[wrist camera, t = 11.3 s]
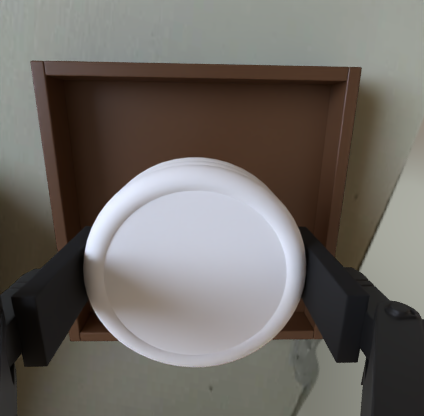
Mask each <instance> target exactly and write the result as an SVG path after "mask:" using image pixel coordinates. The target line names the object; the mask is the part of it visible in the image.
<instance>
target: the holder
mask: <svg viewBox="0 0 424 416" xmlns="http://www.w3.org/2000/svg"><path fill="white" fill-rule="evenodd" d="M30 63H31V70H32V77H33V84H34V91H35V97H36V104H37V111H38V118H39V125H40V132H41V139H42V146H43V153H44V160H45V167H46V174H47V181H48V188H49V195H50V202H51V209H52V216H53V223H54V230H55V237H56V244H57V251H58V252H59V251H60V250H61V249H62V248H63V247H64V246H65V245H66V244H67V243H68V242H69V241H70V240H72V239H73V238H74V237H75V236H76V235H77V234H78V233H79V232H80V231H81V230H82V229H83V228H84V227H85V226H93V224H94V222H95V220H96V218H97V216H98V215H99V213H100V212H101V210H102V209H103V208H104V206H105V205H106V204H107V203H108V201H109V200H110V199H111V198H112V197H113V196H114V195H115V194H116V193H117V192H119V191H120V190H121V189H122V188H123V187H124V186H125V185H126V184H127V183H128V182H129V181H131V180H132V179H133V178H134V177H136V176H137V175H138V174H140V173H142V172H143V171H145V170H147V169H148V168H150V167H153V166H155V165H157V164H160V163H162V162H166V161H170V160H173V159H180V158H188V157H203V158H210V159H217V160H221V161H224V162H228V163H231V164H233V165H235V166H238V167H240V168H242V169H244V170H246V171H247V172H249V173H251V174H252V175H254V176H255V177H257V178H258V179H259V180H260V181H262V182H263V183H264V184H265V185H266V186H267V187H268V188H269V189H270V190H271V191H272V192H273V194H274V195H275V196H276V197H277V198H278V199H279V200H280V201H281V202H282V203H283V204H284V205H285V207H286V208H287V209H288V211H289V212H290V214H291V215H292V217H293V218H294V220H295V222H296V224H297V226H298V227H307V228H308V230H309V231H310V232H311V233H312V234H313V235H314V236H315V237H316V238H317V239H318V240H319V241H320V242H321V243H322V245H323V246H324V247H325V248H326V249H327V250H328V251H329V252H330V253H331V254H332V255H333V256H334V257H335V252H336V245H337V238H338V231H339V224H340V217H341V210H342V203H343V196H344V189H345V182H346V175H347V168H348V161H349V154H350V147H351V140H352V132H353V125H354V118H355V111H356V104H357V97H358V90H359V83H360V76H361V69H362V68H361V67H327V66H277V65H227V64H177V63H128V62H78V61H31V62H30ZM69 335H70V341H119V340H118V339H116V338H115V337H114V336H113V335H112V334H111V333H110V332H109V331H108V330H107V329H106V327H105V326H104V325H103V323H102V322H101V321H100V320H99V318H98V317H97V315H96V313H95V311H94V309H93V308H92V306H91V303H90V301H89V299H88V301H87V303H86V304H85V306H84V307H83V309H82V311H81V312H80V314H79V316H78V317H77V319H76V320H75V322H74V324H73V325H72V327H71V328H70V330H69ZM273 339H323V337H322V335H321V333H320V331H319V330H318V328H317V326H316V324H315V322H314V320H313V319H312V317H311V315H310V313H309V311H308V309H307V307H306V306H305V304H304V302H303V300H302V298H301V299H300V301H299V303H298V305H297V308H296V310H295V311H294V313H293V315H292V316H291V318H290V320H289V321H288V322H287V324H286V325H285V326H284V327H283V329H282V330H281V331H280V332H279V333H278V334H277V335H276V336H275V337H274V338H273Z"/></svg>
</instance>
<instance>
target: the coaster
mask: <svg viewBox="0 0 424 416" xmlns="http://www.w3.org/2000/svg"><path fill="white" fill-rule="evenodd" d="M83 274H84V283H85V287H86V292H87V295H88V298H89V301H90V303H91V306H92V308H93V309H94V311H95V313H96V315H97V317H98V318H99V320H100V321H101V322H102V323H103V325H104V326H105V327H106V329H107V330H108V331H109V332H110V333H111V334H112V335H113V336H114V337H115V338H116V339H118V340H119V341H120V342H122V343H123V344H124V345H125V346H127V347H128V348H130V349H132V350H133V351H135V352H137V353H138V354H141V355H143V356H145V357H147V358H150V359H152V360H155V361H159V362H162V363H165V364H170V365H175V366H183V367H208V366H215V365H221V364H225V363H229V362H232V361H235V360H238V359H240V358H243V357H245V356H247V355H249V354H251V353H253V352H255V351H256V350H258V349H260V348H261V347H263V346H264V345H266V344H267V343H268V342H269V341H270V340H272V339H273V338H274V337H275V336H276V335H277V334H278V333H279V332H280V331H281V330H282V329H283V327H284V326H285V325H286V324H287V322H288V321H289V320H290V318H291V316H292V315H293V313H294V311H295V310H296V308H297V305H298V303H299V301H300V299H301V296H302V292H303V289H304V285H305V278H306V255H305V248H304V243H303V240H302V236H301V233H300V230H299V228H298V226H297V224H296V222H295V220H294V218H293V217H292V215H291V214H290V212H289V211H288V209H287V208H286V207H285V205H284V204H283V203H282V202H281V201H280V200H279V199H278V198H277V197H276V196H275V195H274V194H273V192H272V191H271V190H270V189H269V188H268V187H267V186H266V185H265V184H264V183H263V182H262V181H260V180H259V179H258V178H257V177H255V176H254V175H252V174H251V173H249V172H247V171H246V170H244V169H242V168H240V167H238V166H235V165H233V164H231V163H228V162H224V161H221V160H217V159H210V158H203V157H188V158H180V159H173V160H170V161H166V162H162V163H160V164H157V165H155V166H153V167H150V168H148V169H147V170H145V171H143V172H142V173H140V174H138V175H137V176H136V177H134V178H133V179H132V180H131V181H129V182H128V183H127V184H126V185H125V186H124V187H123V188H122V189H121V190H120V191H119V192H117V193H116V194H115V195H114V196H113V197H112V198H111V199H110V200H109V201H108V203H107V204H106V205H105V206H104V208H103V209H102V210H101V212H100V213H99V215H98V216H97V218H96V220H95V222H94V224H93V226H92V228H91V231H90V234H89V236H88V239H87V243H86V248H85V253H84V263H83Z"/></svg>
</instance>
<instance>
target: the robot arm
mask: <svg viewBox="0 0 424 416" xmlns="http://www.w3.org/2000/svg"><path fill="white" fill-rule="evenodd" d="M91 228H92V226H85V227H84V228H83V229H82V230H81V231H80V232H79V233H78V234H77V235H76V236H75V237H74V238H73V239H72V240H70V241H69V242H68V243H67V244H66V245H65V246H64V247H63V248H62V249H61V250H60V251H59V252H58V253H57V254H56V255H55V256H54V257H53V258H51V259H50V260H49V261H48V262H47V263H46V264H45V265H44V266H43V267H42V268H41V269H34V270H32V271H30V272H28V273H26V274H24V275H23V276H21V277H20V278H19V279H18V280H17V281H16V283H14V284H12V285H11V286H10V287H9V289H7V290H6V291H5V292H3V293H2V294H1V295H0V416H17V378H16V368H15V363H14V362H15V361H16V360H17V358H18V357H19V356H20V354H21V353H22V356H23V361H24V366H25V367H33V366H48V364H49V362H50V361H51V359H52V358H53V356H54V354H55V353H56V351H57V349H58V348H59V346H60V345H61V343H62V341H63V340H64V338H65V337H66V335H67V333H68V332H69V330H70V328H71V327H72V325H73V324H74V322H75V320H76V319H77V317H78V316H79V314H80V312H81V311H82V309H83V307H84V306H85V304H86V303H87V301H88V299H89V298H88V295H87V292H86V287H85V283H84V274H83V263H84V253H85V248H86V243H87V239H88V236H89V234H90V231H91ZM298 228H299V230H300V233H301V236H302V240H303V243H304V248H305V255H306V278H305V285H304V289H303V292H302V296H301V298H302V300H303V302H304V304H305V306H306V307H307V309H308V311H309V313H310V315H311V317H312V319H313V320H314V322H315V324H316V326H317V328H318V330H319V331H320V333H321V335H322V337H323V339H324V341H325V342H326V344H327V346H328V348H329V350H330V352H331V353H332V355H333V357H334V359H335V361H336V362H337V363H341V362H342V363H346V362H347V363H348V362H349V363H350V362H358V357H359V351H360V349H361V350H362V352H363V353H364V354H365V356H366V362H365V367H364V372H363V377H362V382H361V385H363V390H362V402H361V416H424V320H423V319H421V316H420V315H419V313H418V312H417V311H416V310H415V309H413V308H411V307H409V306H408V305H405V304H403V303H400V302H396V301H390V300H389V299H388V298H387V297H386V296H384V295H383V294H382V293H381V292H380V291H379V290H378V289H377V288H376V287H375V286H374V285H373V284H372V283H371V282H370V281H368V279H367V278H366V277H365V276H364V275H363V274H362V273H361V272H359V271H357V270H355V269H353V268H352V267H343V266H342V265H341V264H340V263H339V262H338V261H337V260H336V258H335V257H334V256H333V255H332V254H331V253H330V252H329V251H328V250H327V249H326V248H325V247H324V246H323V245H322V243H321V242H320V241H319V240H318V239H317V238H316V237H315V236H314V235H313V234H312V233H311V232H310V231H309V230H308V228H307V227H298Z"/></svg>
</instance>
